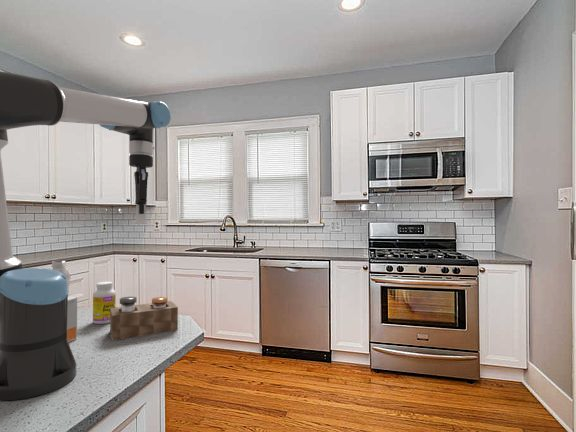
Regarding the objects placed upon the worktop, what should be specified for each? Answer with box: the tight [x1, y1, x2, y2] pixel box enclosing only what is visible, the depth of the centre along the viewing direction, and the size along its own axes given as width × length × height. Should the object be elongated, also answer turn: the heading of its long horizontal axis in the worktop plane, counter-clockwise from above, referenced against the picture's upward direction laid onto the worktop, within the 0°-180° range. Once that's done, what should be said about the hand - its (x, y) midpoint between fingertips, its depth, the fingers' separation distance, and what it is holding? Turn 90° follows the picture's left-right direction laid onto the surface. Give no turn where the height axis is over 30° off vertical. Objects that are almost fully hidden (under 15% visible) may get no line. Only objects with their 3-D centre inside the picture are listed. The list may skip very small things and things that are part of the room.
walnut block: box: [109, 300, 179, 341], centre depth 106 cm, size 18×9×7 cm, turn 121°
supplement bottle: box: [92, 281, 117, 325], centre depth 114 cm, size 7×7×13 cm
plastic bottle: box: [51, 259, 71, 293], centre depth 113 cm, size 6×7×20 cm
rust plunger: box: [151, 296, 168, 309], centre depth 108 cm, size 5×5×9 cm
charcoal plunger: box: [119, 296, 137, 313], centre depth 103 cm, size 5×5×9 cm
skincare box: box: [67, 296, 78, 343], centre depth 96 cm, size 6×4×12 cm
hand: (140, 223), depth 119 cm, fingers closed
